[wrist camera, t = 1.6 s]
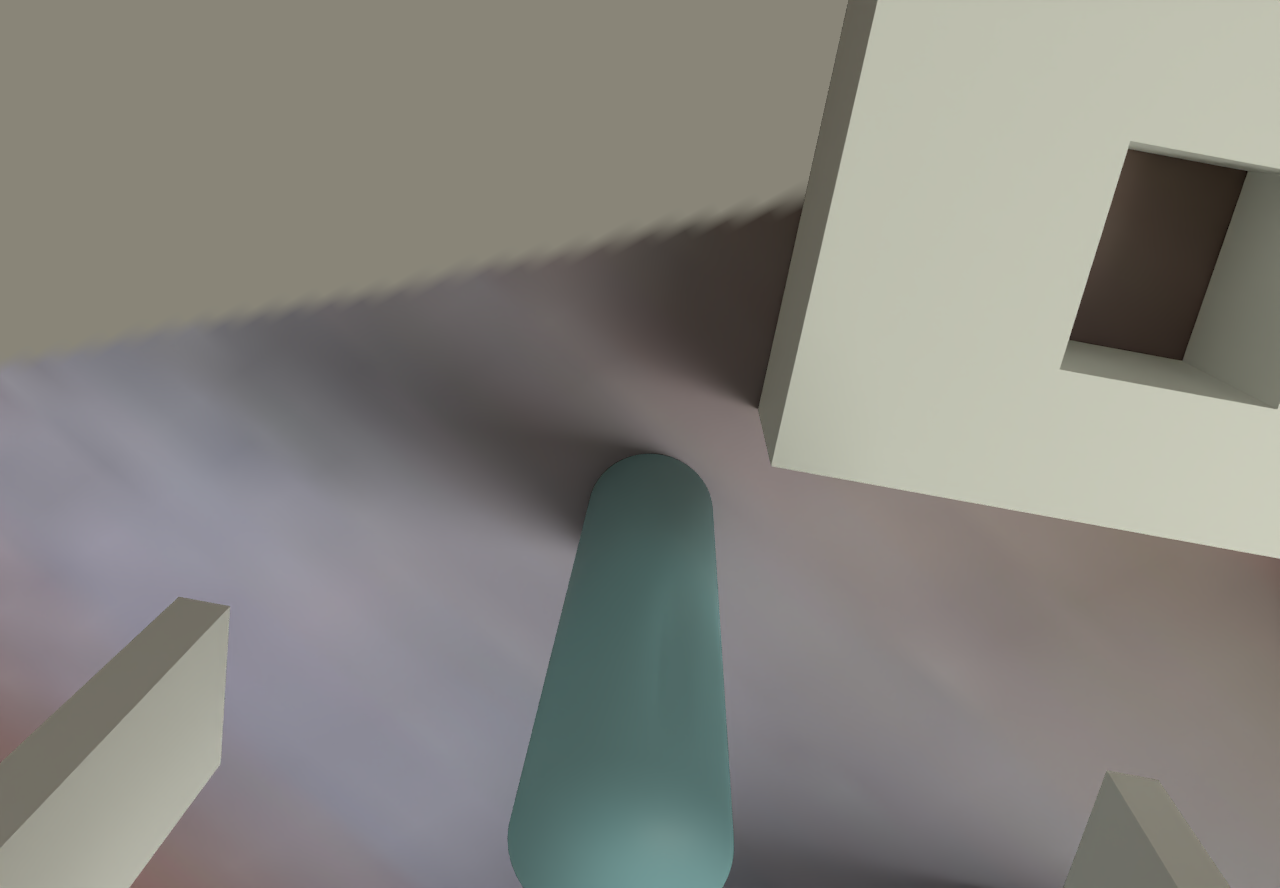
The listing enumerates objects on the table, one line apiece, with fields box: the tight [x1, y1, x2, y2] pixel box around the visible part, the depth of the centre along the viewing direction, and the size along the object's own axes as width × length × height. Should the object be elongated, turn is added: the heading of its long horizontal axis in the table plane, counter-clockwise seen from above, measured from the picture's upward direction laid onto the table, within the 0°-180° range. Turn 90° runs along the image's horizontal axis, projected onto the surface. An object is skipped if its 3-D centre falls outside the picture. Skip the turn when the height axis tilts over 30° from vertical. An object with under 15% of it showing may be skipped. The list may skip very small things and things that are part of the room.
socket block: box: [758, 0, 1280, 559], centre depth 21 cm, size 14×10×4 cm
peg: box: [508, 454, 734, 888], centre depth 20 cm, size 3×3×12 cm
